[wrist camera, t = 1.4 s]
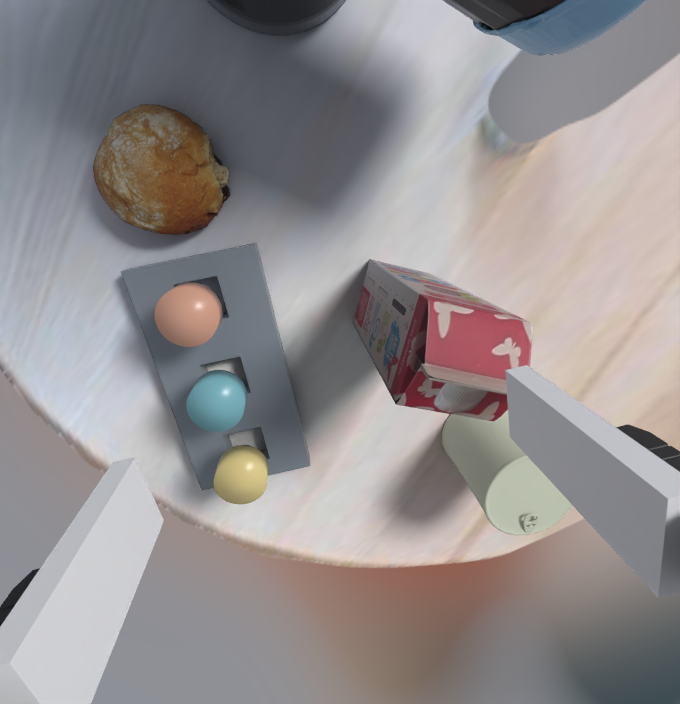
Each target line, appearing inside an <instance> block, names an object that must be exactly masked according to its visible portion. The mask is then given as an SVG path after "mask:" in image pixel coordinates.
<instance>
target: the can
mask: <svg viewBox="0 0 680 704" xmlns="http://www.w3.org/2000/svg"><path fill="white" fill-rule="evenodd" d="M442 445H443V448H444V450H445V452H446V454H447V455H448V457H449V458H450V459H451V460H452V461H453V462H454V464H455V465H456V467H457V468H458V470H459V471H460V473H461V475H462V476H463V478H464V479H465V481H466V483H467V484H468V486H469V487H470V489H471V491H472V492H473V494H474V495H475V497H476V499H477V500H478V502H479V503H480V505H481V507H482V508H483V510H484V512H485V514H486V516H487V518H488V520H489V521H490V523H491V524H492V525H493V526H494V527H496V528H497V529H498V530H500V531H502V532H505V533H507V534H512V535H529V534H534V533H538V532H540V531H543V530H545V529H547V528H549V527H551V526H553V525H554V524H556V523H557V522H558V521H560V520H561V519H562V518H563V517H564V516H565V515H566V514H567V513H568V511H569V510H570V509H571V507H572V506H573V505H572V504H571V503H570V502H569V501H568V500H567V499H566V498H565V496H564V495H563V494H562V493H561V492H560V491H559V490H558V489H557V488H556V487H555V486H554V485H553V483H552V482H551V481H550V480H549V479H548V478H547V477H546V476H545V475H544V474H543V473H542V472H541V470H540V469H539V468H538V467H537V466H536V465H535V464H534V463H533V462H532V461H531V460H530V459H529V457H528V456H527V455H526V454H525V453H524V452H523V451H522V450H521V449H520V448H519V447H518V446H517V444H516V443H515V442H514V441H513V440H512V439H511V438H510V433H509V418H508V410H507V411H506V412H505V413H504V414H503V415H502V416H501V417H499V418H498V419H497V420H495V421H494V422H493V421H488V420H482V419H476V418H471V417H465V416H459V415H454V414H451V415H450V416H449V417H448V419H447V420H446V422H445V424H444V427H443V431H442Z"/></svg>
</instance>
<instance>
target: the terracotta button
mask: <svg viewBox="0 0 680 704" xmlns="http://www.w3.org/2000/svg"><path fill="white" fill-rule="evenodd" d="M222 315H223V310H222V305H221V302H220V300H219V298H218V296H217V295H216V294H215V293H214V292H213V291H212V290H211V289H210V288H208V287H207V286H205V285H203V284H200V283H195V282H186V283H182V284H179V285H177V286H175V287H174V288H172V289H171V290H169V291H168V292H167V293H165V294H164V295H163V296H162V297H161V298H160V299H159V301H158V302H157V305H156V308H155V322H156V325H157V328H158V329H159V331H160V333H161V334H162V335H163V336H164V337H165V338H166V339H167V340H169V341H170V342H172V343H174V344H176V345H179V346H183V347H195V346H199V345H201V344H204V343H205V342H207V341H208V340H209V339H210V338H211V337H212V336H213V335H214V333H215V331H216V330H217V328H218V326H219V324H220V323H221V320H222Z"/></svg>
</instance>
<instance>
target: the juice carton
mask: <svg viewBox="0 0 680 704" xmlns="http://www.w3.org/2000/svg"><path fill="white" fill-rule="evenodd" d="M353 324H354V326H355V328H356V330H357V332H358V334H359V336H360V337H361V339H362V341H363V343H364V345H365V347H366V349H367V351H368V353H369V354H370V356H371V358H372V360H373V362H374V364H375V366H376V368H377V370H378V371H379V373H380V375H381V377H382V379H383V381H384V383H385V385H386V387H387V388H388V390H389V392H390V394H391V396H392V398H393V400H394V402H395V404H397V405H402V406H408V407H414V408H419V409H425V410H431V411H436V412H442V413H448V414H454V415H459V416H465V417H471V418H476V419H482V420H488V421H493V422H494V421H495V420H497V419H498V418H499V417H501V416H502V415H503V414H504V413H505V412H506V411H507V410H508V402H507V387H506V371H505V370H508V369H512V368H517V367H521V366H525V365H527V366H529V367H530V360H531V348H532V323H530V322H528V321H526V320H524V319H522V318H520V317H518V316H516V315H514V314H512V313H510V312H508V311H506V310H504V309H502V308H500V307H498V306H496V305H493V304H491V303H489V302H487V301H485V300H483V299H481V298H479V297H477V296H475V295H473V294H471V293H469V292H467V291H465V290H463V289H461V288H459V287H457V286H455V285H453V284H451V283H449V282H447V281H445V280H443V279H441V278H439V277H437V276H434V275H432V274H429V273H424V272H420V271H416V270H412V269H408V268H404V267H399V266H395V265H391V264H387V263H383V262H379V261H375V260H370V259H369V263H368V267H367V271H366V275H365V278H364V282H363V286H362V290H361V294H360V298H359V302H358V305H357V309H356V313H355V317H354V321H353Z"/></svg>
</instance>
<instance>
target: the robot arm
mask: <svg viewBox="0 0 680 704" xmlns="http://www.w3.org/2000/svg"><path fill="white" fill-rule="evenodd" d="M208 1H209V2H210V3H211V4H212V5H213V6H214V7H215V8H216V9H217V10H218V11H219V12H221V13H222V14H223V15H224V16H226V17H227V18H229V19H230V20H232V21H233V22H235V23H237V24H238V25H240V26H242V27H245V28H247V29H249V30H252V31H255V32H259V33H263V34H269V35H290V34H296V33H300V32H303V31H307V30H309V29H311V28H314V27H315V26H317V25H319V24H321V23H322V22H324V21H325V20H327V19H328V18H329V17H330V16H332V15H333V14H334V13H335V12H336V11H337V10H338V9H339V8H340V7H341V6H342V4H343V3H344V2H345V1H346V0H208ZM443 1H444V2H446V3H447V4H449V5H450V6H452V7H453V8H455V9H456V10H458V11H459V12H461V13H463V14H464V15H466V16H467V17H469V18H470V19H472V20H473V23H474V26H475V27H476V28H477V29H479V30H480V31H482V32H483V33H485V34H489V35H495V36H499V37H501V38H503V39H504V40H506V41H508V42H510V43H511V44H513V45H515V46H517V47H518V48H520V49H522V50H524V51H526V52H528V53H530V54H534V55H540V56H541V55H546V54H550V55H553V54H562V53H565V52H568V51H571V50H573V49H576V48H578V47H581V46H583V45H585V44H587V43H589V42H591V41H592V40H594V39H596V38H597V37H599V36H601V35H603V34H604V33H606V32H607V31H609V30H610V29H612V28H613V27H614V26H616V25H617V24H618V23H620V22H621V21H623V20H624V19H625V18H627V17H628V16H629V15H631V14H632V13H633V12H634V11H636V10H637V9H638V8H639V7H640V6H642V5H643V4H644V3H645V2H647V1H648V0H443ZM505 371H506V387H507V402H508V418H509V433H510V438H511V439H512V440H513V441H514V442H515V443H516V444H517V446H518V447H519V448H520V449H521V450H522V451H523V452H524V453H525V454H526V455H527V456H528V457H529V459H530V460H531V461H532V462H533V463H534V464H535V465H536V466H537V467H538V468H539V469H540V470H541V472H542V473H543V474H544V475H545V476H546V477H547V478H548V479H549V480H550V481H551V482H552V483H553V485H554V486H555V487H556V488H557V489H558V490H559V491H560V492H561V493H562V494H563V495H564V496H565V498H566V499H567V500H568V501H569V502H570V503H571V504H572V505H573V506H574V507H575V508H576V509H577V511H578V512H579V513H580V514H581V515H582V516H583V517H584V518H585V519H586V520H587V521H588V522H589V524H590V525H591V526H592V527H593V528H594V529H595V530H596V531H597V532H598V533H599V534H600V535H601V536H602V538H603V539H604V540H605V541H606V542H607V543H608V544H609V545H610V546H611V547H612V548H613V549H614V551H616V553H617V554H618V555H619V556H620V557H621V558H622V559H623V560H624V561H625V562H626V564H627V565H628V566H629V567H630V568H631V569H632V570H633V571H634V572H635V573H636V574H637V575H638V577H639V578H640V579H641V580H642V581H643V582H644V583H645V584H646V585H647V586H648V587H649V588H650V590H651V591H652V592H653V593H654V594H655V595H656V596H657V597H658V598H659V597H663V596H667V595H671V594H674V593H678V592H680V451H678V450H677V449H675V448H673V447H672V446H668V444H667V443H666V442H664V441H663V440H661V439H659V438H658V437H656V436H655V435H653V434H652V433H650V432H648V431H645V430H642V429H639V428H636V427H634V426H631V425H624V426H620V427H615V426H613V425H612V424H610V423H609V422H607V421H606V420H605V419H603V418H602V417H600V416H599V415H597V414H596V413H595V412H593V411H592V410H590V409H589V408H587V407H586V406H585V405H583V404H582V403H580V402H579V401H577V400H576V399H574V398H573V397H572V396H570V395H569V394H567V393H566V392H564V391H563V390H562V389H560V388H559V387H557V386H556V385H554V384H553V383H552V382H550V381H549V380H547V379H546V378H544V377H543V376H542V375H540V374H539V373H537V372H536V371H534V370H533V369H532V368H530V367H529V366H527V365H525V366H521V367H517V368H512V369H508V370H505ZM163 521H164V520H163V518H162V516H161V513H160V511H159V509H158V507H157V504H156V502H155V500H154V498H153V496H152V494H151V491H150V489H149V487H148V485H147V483H146V480H145V478H144V476H143V474H142V472H141V469H140V467H139V465H138V463H137V461H136V458H131V459H127V460H123V461H118V462H114V463H112V464H111V466H110V467H109V469H108V470H107V472H106V473H105V475H104V476H103V478H102V479H101V480H100V482H99V483H98V485H97V487H96V488H95V489H94V491H93V492H92V494H91V495H90V496H89V498H88V499H87V501H86V502H85V504H84V505H83V507H82V508H81V510H80V511H79V513H78V514H77V515H76V517H75V518H74V520H73V521H72V523H71V525H70V526H69V527H68V529H67V530H66V532H65V533H64V535H63V536H62V538H61V539H60V540H59V542H58V543H57V545H56V546H55V548H54V549H53V551H52V552H51V554H50V555H49V556H48V558H47V559H46V561H45V562H44V564H43V565H42V567H41V568H40V569H36V570H33V571H32V572H31V573H29V574H28V575H27V576H26V577H25V578H24V579H23V580H22V581H21V582H20V583H19V584H18V585H17V586H16V587H15V588H14V589H13V590H12V591H11V593H10V594H9V595H8V597H7V598H6V600H5V601H4V602H3V604H2V605H1V607H0V704H91V702H92V699H93V697H94V694H95V692H96V689H97V687H98V684H99V682H100V679H101V677H102V674H103V671H104V669H105V667H106V664H107V662H108V659H109V656H110V654H111V652H112V649H113V647H114V644H115V642H116V639H117V637H118V634H119V632H120V629H121V627H122V624H123V622H124V619H125V617H126V614H127V612H128V609H129V607H130V604H131V602H132V599H133V597H134V594H135V592H136V589H137V587H138V584H139V581H140V579H141V577H142V574H143V572H144V569H145V567H146V564H147V562H148V558H149V556H150V554H151V552H152V549H153V546H154V544H155V542H156V539H157V536H158V534H159V532H160V529H161V526H162V524H163Z"/></svg>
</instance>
